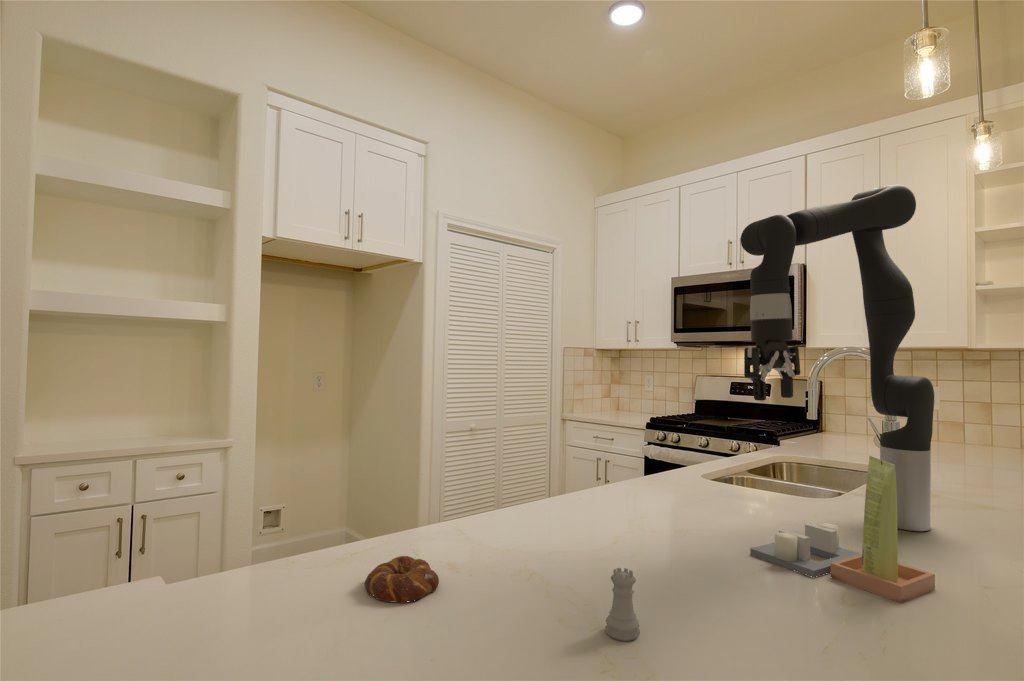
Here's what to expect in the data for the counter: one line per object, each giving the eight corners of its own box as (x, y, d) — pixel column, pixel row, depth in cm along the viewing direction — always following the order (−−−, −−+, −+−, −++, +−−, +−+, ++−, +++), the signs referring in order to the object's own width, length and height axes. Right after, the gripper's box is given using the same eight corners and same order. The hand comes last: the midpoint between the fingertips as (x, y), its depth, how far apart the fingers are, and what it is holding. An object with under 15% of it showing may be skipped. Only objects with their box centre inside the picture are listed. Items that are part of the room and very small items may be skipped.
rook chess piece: (601, 625, 74) (602, 565, 74) (633, 625, 74) (634, 564, 74) (609, 643, 69) (611, 578, 69) (644, 642, 70) (645, 578, 70)
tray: (864, 566, 97) (864, 552, 97) (934, 589, 88) (934, 574, 88) (830, 577, 92) (830, 563, 92) (901, 603, 83) (901, 586, 83)
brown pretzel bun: (362, 577, 88) (363, 554, 88) (430, 570, 92) (430, 548, 92) (366, 611, 77) (367, 584, 77) (443, 601, 80) (444, 576, 80)
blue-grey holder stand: (802, 541, 110) (802, 516, 110) (866, 561, 100) (866, 533, 100) (749, 555, 102) (749, 527, 102) (812, 578, 91) (813, 548, 92)
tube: (907, 582, 89) (908, 460, 90) (894, 589, 86) (894, 463, 87) (869, 570, 94) (869, 455, 94) (855, 577, 91) (855, 457, 91)
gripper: (764, 316, 103) (768, 402, 103) (810, 316, 111) (813, 397, 110) (731, 318, 110) (734, 400, 110) (776, 319, 117) (779, 395, 117)
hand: (773, 398), depth 110 cm, fingers open, 8 cm apart
